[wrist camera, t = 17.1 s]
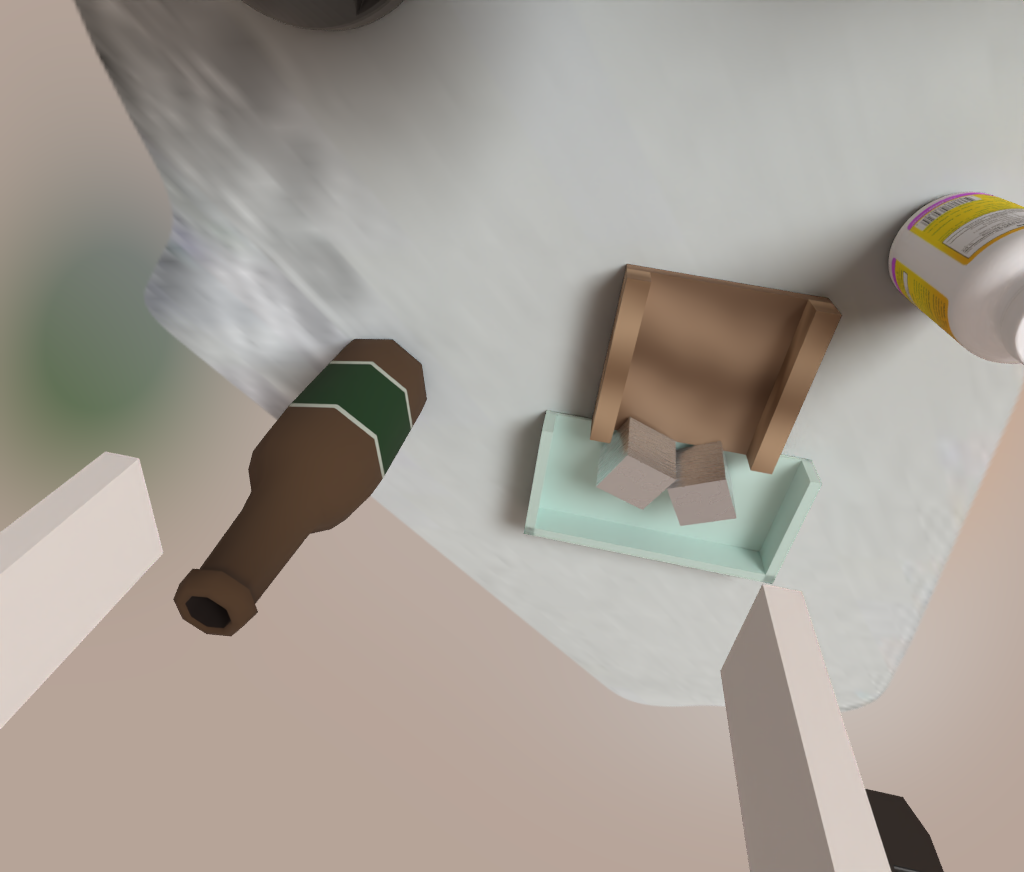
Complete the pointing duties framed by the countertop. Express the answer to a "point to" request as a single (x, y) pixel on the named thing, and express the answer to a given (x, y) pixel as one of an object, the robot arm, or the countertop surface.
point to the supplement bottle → (967, 271)
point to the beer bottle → (308, 477)
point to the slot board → (711, 361)
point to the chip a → (637, 464)
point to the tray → (667, 509)
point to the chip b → (702, 485)
